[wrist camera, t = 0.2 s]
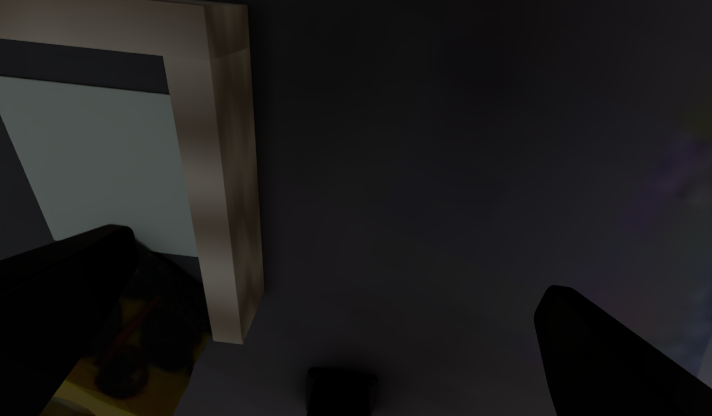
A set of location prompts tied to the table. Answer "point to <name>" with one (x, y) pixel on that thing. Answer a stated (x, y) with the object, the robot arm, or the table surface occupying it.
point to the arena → (186, 122)
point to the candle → (140, 348)
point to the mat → (101, 160)
